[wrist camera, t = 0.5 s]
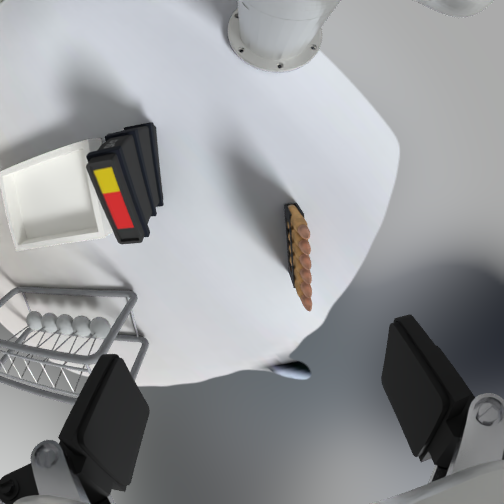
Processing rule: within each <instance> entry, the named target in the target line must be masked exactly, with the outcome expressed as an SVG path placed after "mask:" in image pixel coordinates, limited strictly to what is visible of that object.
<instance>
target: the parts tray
mask: <svg viewBox="0 0 504 504" xmlns="http://www.w3.org/2000/svg"><path fill="white" fill-rule="evenodd" d="M101 145H102V141H101V138H95V139H86V140H83V141H80V142H77V143H74V144H70V145H67V146H64V147H61V148H58V149H56V150H53V151H50V152H47V153H44V154H42V155H39V156H36V157H34V158H31V159H29V160H26V161H24V162H21V163H19V164H16V165H14V166H12V167H9V168H7V169H5V170H2V171H0V187H1V193H2V198H3V203H4V207H5V212H6V216H7V220H8V224H9V228H10V232H11V236H12V239H13V243H14V246H15V250H16V251H22V250H28V249H34V248H41V247H47V246H53V245H60V244H66V243H73V242H80V241H87V240H94V239H101V238H106V237H108V236H109V235H110V234H111V233H113V230H112V228H111V226H110V224H109V221H108V219H107V217H106V215H105V212H104V210H103V208H102V206H101V203H100V201H99V199H98V196H97V194H96V191H95V189H94V187H93V184H92V182H91V179H90V177H89V174H88V171H87V169H86V165H87V163H88V160H87V158H86V156H87V154H88V153H89V152H93V151H97V150H98V149H99V147H100V146H101Z"/></svg>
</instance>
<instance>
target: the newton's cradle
mask: <svg viewBox="0 0 504 504" xmlns="http://www.w3.org/2000/svg"><path fill="white" fill-rule="evenodd" d="M19 292H22V293H23V296H24V299H25V301H26V304H27V307H28V310H29V312H30V313H29V314H28V316H27V320H26V321H27V325H28V326H27V327H29V328H27V327H25V328H27V329H26V330H25V331H24V332H23V333H22V335H21V336H20V337H19V338H18V339H17V340H16V341H15V343H14V342H10V341H9V340H11V339H12V338H13V337H14V336H16V335H17V334H19V333H20V332H21V331H23V330H24V329H25V328H24V329H23V330H21V331H20V332H18V333H17V334H16V335H14V336H13V337H12V338H10V339H9V340H8V341H6V340H1V339H0V347H4V348H7V349H9V350H8V351H7V352H5V351H2V350H0V353H4V354H5V355H4V356H3V357H2V358H1V359H0V369H1V367H2V366H3V365H4V363H5V362H6V361H7V360H8V358H10V356H15V358H16V357H18V358H22V359H26V360H30V361H34V362H38V363H41V364H42V363H43V364H45V365H46V364H47V365H52V366H57V367H61V369H62V370H63V368H67V369H72V370H77V371H81V374H82V372H89V374H91V372H92V371H91V369H90V367H89V365H91V364H95V363H97V361H98V359H99V358H100V356H101V355H103V354H107V352H108V350H109V348H110V347H111V345H112V343H113V341H114V340H118V341H130V342H141V343H142V346H141V348H140V351H139V353H138V355H137V358H136V360H135V362H134V365H133V367H132V370H131V372H130V374H131V376H132V377H133V379H134V381H135V379H136V376H137V374H138V371H139V369H140V366H141V364H142V361H143V359H144V356H145V354H146V351H147V349H148V345H149V343H148V340H147V339H146V338H144V337H142V336H139V334H138V331H137V327H136V323H135V319H134V315H133V311H132V308H133V306H134V305H135V303H136V301H137V295H136V293H134V292H132V291H128V290H88V289H61V288H40V287H17V288H14V289H12V290H11V291H10V292H9V293H7V294H6V295H5V296H4V297H3V298H2V299H1V300H0V307H1V306H2V305H4V304H5V303H6V302H7V301H8V300H9V299H10V298H11V297H12V296H13V295H15V294H17V293H19ZM24 292H27V293H42V294H58V295H78V296H102V297H127V300H128V302H127V304H126V305H125V307H124V309H123V310H122V312H121V313H120V315H119V317H118V318H117V320H116V321H115V323H114V325H113V326H112V328H111V327H110V324H109V322H108V321H107V320H106V319H105V318H102V317H97V318H95V319H93V320H92V321H90V320H89V319H88V318H87V317H85V316H78V317H76V318H75V319H74V320H73V318H72V317H71V316H69V315H67V314H63V315H60V316H59V317H57V316H56V315H55V314H53V313H46V314H45V315H44V316H43V317H42V315H41V314H40V313H39V312H36V311H32V312H31V310H30V308H29V305H28V302H27V299H26V297H25V294H24ZM129 298H130V299H129ZM130 312H131V316H132V320H133V324H134V328H135V331H136V335H137V336H132V335H117V334H118V332H119V330H120V329H121V327H122V325H123V323H124V322H125V320H126V318H127V317H128V315H129V313H130ZM32 331H38V332H40V331H41V332H44V334H45V332H48V333H54V334H60V335H61V334H62V335H70V337H72V336H77V337H87V338H89V339H90V338H95V340H96V339H105V340H104V341H103V343H102V345H101V346H100V348H99V350H98V351H97V352H96V353H95V354H92V355H89V354H90V352H91V349H92V347H93V345H94V342H95V340H94V342H93V345H92V347H91V349H90V352H89V354H88V356H84V355H77V354H76V353H77V352H78V351H79V349H80V348H81V347H82V346H83V345H84V344H85V343H86V342H87V341H88V340H89V339H88V340H87V341H86V342H85V343H84V344H83V345H82V346H81V347H80V348H79V349H78V350H77V351H76V352H75V353H74V354H70V352H71V350H72V348H73V345H74V343H75V341H76V339H77V337H76V339H75V341H74V343H73V345H72V347H71V350H70V352H69V353H64V352H58V351H56V350H57V349H58V348H59V347H60V346H62V345H63V344H64V343H65V342H66V341H67V340H68V339H69V338H70V337H69V338H68V339H67V340H66V341H64V342H63V343H62V344H61V345H60V346H59V347H58V348H57V349H56V350H54V351H53V349H54V347H55V345H56V343H57V341H58V339H59V337H60V335H59V337H58V339H57V341H56V343H55V345H54V347H53V349H52V350H47V349H42V348H38V347H40V346H41V345H42V344H43V343H44V342H46V341H47V340H48V339H49V338H50V337H52V336H53V335H54V334H53V335H51V336H50V337H49V338H48V339H46V340H45V341H44V342H43V343H42V344H40V345H39V343H40V341H41V340H40V341H39V343H38V345H39V346H38V345H37V347H32V346H27V345H23V344H24V343H25V342H26V341H28V340H29V339H30V338H32V337H33V336H34V335H36V334H37V333H38V332H37V333H35V334H34V335H33V336H31V337H30V338H29V339H27V340H26V341H25V339H26V337H27V336H28V334H29V333H31V332H32ZM44 334H43V336H44ZM43 336H42V338H43ZM42 338H41V339H42ZM23 340H24V341H25V342H24V341H23ZM22 341H23V342H24V343H22ZM21 343H22V344H21ZM14 351H18V352H23V353H27V354H28V355H30V354H32V355H36V356H41V357H45V358H46V359H47V358H48V359H49V358H50V359H55V360H61V361H65V363H64V364H63V365H61V364H56V363H51V362H47V361H48V359H47V361H45V360H46V359H45V360H43V361H42V360H37V359H33V358H32V357H33V356H32V357H31V358H28V355H27V356H26V357H24V356H20V355H17V354H18V352H17V354H13V352H14ZM15 358H14V360H15ZM10 360H11V359H10ZM14 360H13V362H14ZM24 361H25V360H24ZM30 361H29V363H30ZM13 362H12V364H13ZM67 362H72V363H78V364H84V366H83V368H77V367H72V366H66V365H65V364H66V363H67ZM29 363H28V365H29ZM12 364H11V366H12ZM28 365H27V367H28ZM85 365H86V367H87V369H84V367H85ZM42 366H43V365H42ZM27 367H26V369H27ZM10 368H11V367H10ZM10 368H9V370H10ZM44 368H45V366H44V367H43V370H45V369H44ZM26 369H25V371H26ZM28 369H29V368H28ZM9 370H8V372H9ZM29 370H30V369H29ZM43 370H42V372H43ZM62 370H61V372H62ZM16 371H17V370H16ZM25 371H24V373H25ZM42 372H41V374H42ZM45 372H46V371H45ZM61 372H60V375H61ZM24 373H23V375H24ZM0 374H2V375H5V376H7V377H11V378H13V379H17V380H20V381H23V382H26V383H29V384H32V385H36V386H39V387H43V388H46V389H51V390H54V391H58V392H62V393H66V394H71V395H75V396H79V394H78V393H75V390H76V388H77V385H78V382H79V380H80V377H81V374H80V377H79V379H78V382H77V385H76V387H75V390H74V391H73V392H74V393H73V392H69V391H64V390H60V389H56V388H55V387H56V384H57V382H58V379H59V377H60V375H59V377H58V379H57V382H56V384H55V387H54V388H52V387H48V386H44V385H41V384H38V381H39V379H38V381H37V382H36V383H34V382H30V381H27V380H24V379H22V377H23V375H22V377H21V379H20V378H17V377H14V376H11V375H8V373H7V374H5V373H2V372H0ZM18 374H19V373H18ZM31 374H32V373H31ZM41 374H40V376H41ZM19 376H20V375H19ZM40 376H39V378H40ZM65 377H66V376H65ZM48 378H49V377H48ZM49 379H50V378H49ZM67 381H68V380H67ZM0 382H1V383H4V384H7V385H9V386H13V387H15V388H18V389H21V390H24V391H27V392H30V393H33V394H36V395H39V396H43V397H46V398H49V399H53V400H57V401H60V402H64V403H68V404H73V405H74V404H75V402H76V400H77V398H73V397H68V396H64V395H60V394H56V393H52V392H49V391H45V390H42V389H38V388H35V387H31V386H28V385H25V384H22V383H19V382H16V381H13V380H10V379H7V378H4V377H2V376H0ZM68 383H69V381H68ZM70 386H71V385H70ZM72 390H73V389H72Z"/></svg>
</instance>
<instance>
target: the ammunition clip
mask: <svg viewBox="0 0 504 504" xmlns="http://www.w3.org/2000/svg"><path fill="white" fill-rule="evenodd" d="M284 209H285V221H286V234H287V248H288V263H289V274H290V277H291V280H292V283H293V287H294V288H296V291H297V294H298V296H299V297H300V299H301V301H302V304H303V305H304V307H305V308H306V309H307V310H308V311H311V309H312V301H311V295H312V289H311V285H310V283H311V280H312V279H311V273H310V268H311V260H310V258H309V254H310V252H311V248H310V245H309V242H308V239H309V237H310V231H309V229H308V227H307V222H306V221H305V219H304V213H303V212H302V210H301V209H300V207H299V206H298V204H297V203H292V204H285V205H284Z"/></svg>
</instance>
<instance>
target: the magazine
mask: <svg viewBox="0 0 504 504" xmlns="http://www.w3.org/2000/svg"><path fill="white" fill-rule="evenodd" d="M105 140H106V142H105V143H103V144H102V145H101V146H100V147H99V149H98V150H97V151H93V152H89V153H88V154H87V156H86V158H87V160H88V163H87V165H86V169H87V171H88V174H89V177H90V179H91V182H92V184H93V187H94V189H95V191H96V194H97V196H98V199H99V201H100V203H101V206H102V208H103V210H104V212H105V215H106V217H107V219H108V221H109V224H110V226H111V228H112V230H113V232H114V234H115V237H116V239H117V241H118V243H119V244H130V243H141V242H142V241H143V238H144V237H149V234H150V231H149V228H148V225H147V224H148V221H149V219H150V216H156V214H157V212H156V207H158V206H163V205H164V204H163V193H162V185H161V176H160V167H159V157H158V146H157V134H156V127H155V126H153V123H146V124H140V125H135V126H130V127H125V128H124V130H123V131H121V132H116V133H111V134H108V135H107V136H105Z"/></svg>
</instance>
